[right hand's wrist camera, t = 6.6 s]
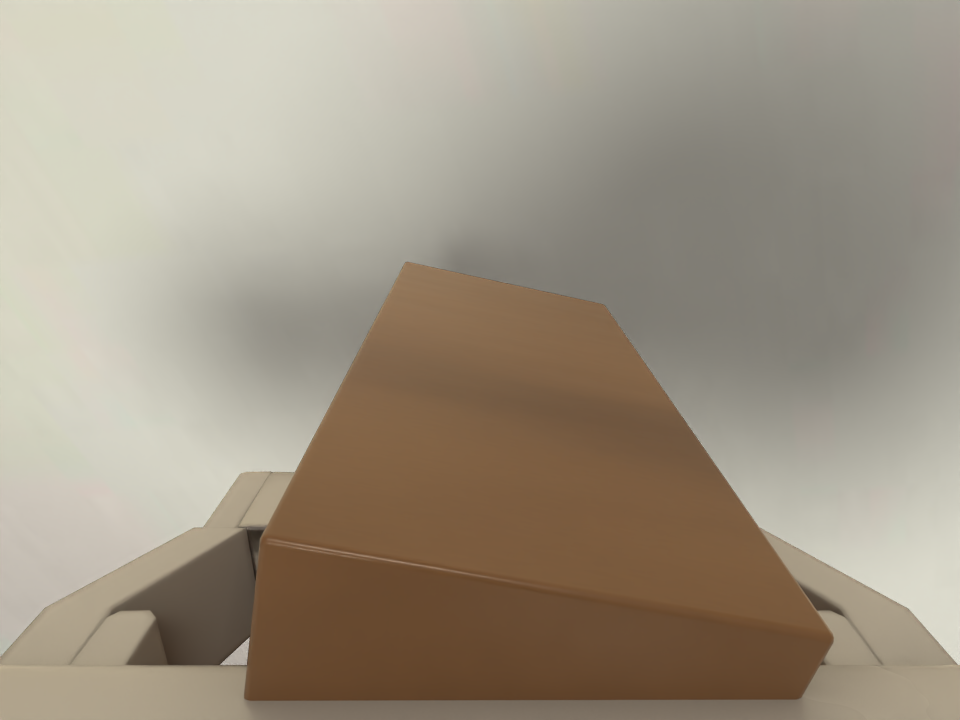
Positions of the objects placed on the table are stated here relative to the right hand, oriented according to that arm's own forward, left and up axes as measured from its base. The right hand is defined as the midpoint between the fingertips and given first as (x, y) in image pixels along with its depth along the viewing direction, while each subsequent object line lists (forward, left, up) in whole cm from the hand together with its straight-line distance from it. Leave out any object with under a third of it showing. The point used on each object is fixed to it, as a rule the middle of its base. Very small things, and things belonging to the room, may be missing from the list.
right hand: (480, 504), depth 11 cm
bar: (+3, +10, -4) cm, 11 cm away
